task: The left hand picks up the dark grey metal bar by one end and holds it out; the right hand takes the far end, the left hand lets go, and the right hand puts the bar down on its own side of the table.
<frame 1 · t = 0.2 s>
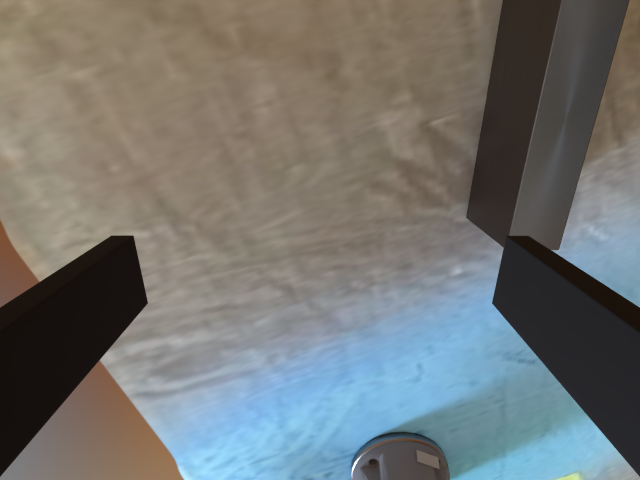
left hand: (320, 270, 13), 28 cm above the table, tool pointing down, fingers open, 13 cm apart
bar: (506, 116, 37), on the table
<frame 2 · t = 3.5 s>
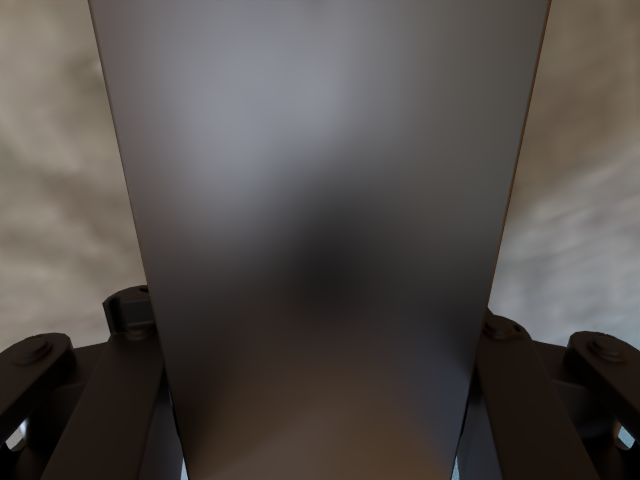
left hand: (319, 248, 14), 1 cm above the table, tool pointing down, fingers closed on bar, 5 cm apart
bar: (319, 40, 12), on the table, touching left hand
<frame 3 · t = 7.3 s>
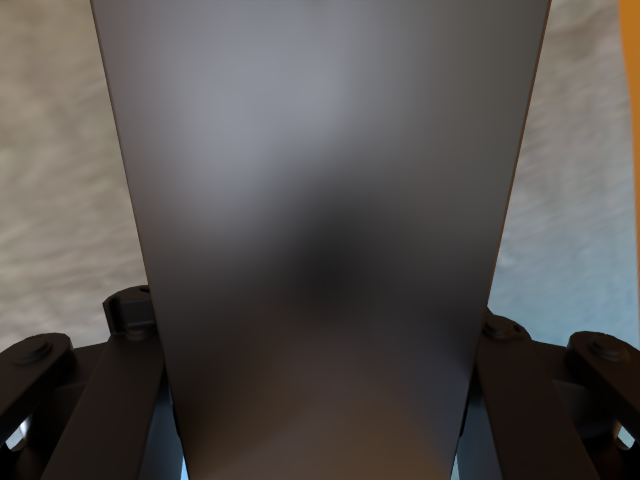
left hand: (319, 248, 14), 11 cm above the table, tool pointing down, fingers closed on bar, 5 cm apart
bar: (320, 39, 12), point 11 cm above the table, touching left hand, right hand
when the left hand's fingers open (11 cm above the table, at t = 8.2 s): bar stays where it is, held by the right hand.
when the right hand's fingers open (5 cm above the table, at t = 14.4 s): bar stays where it is, on the table.
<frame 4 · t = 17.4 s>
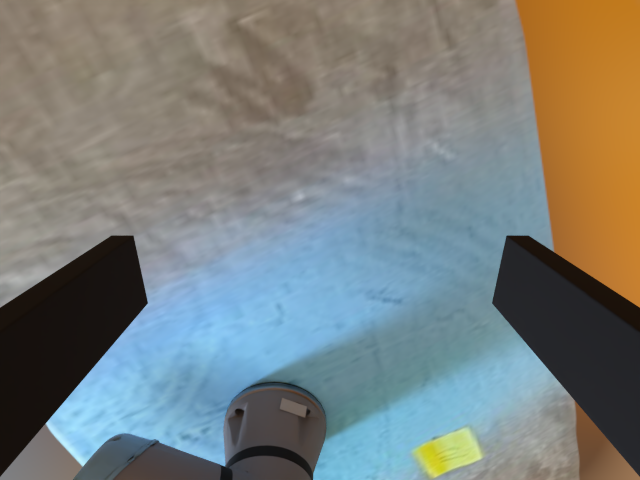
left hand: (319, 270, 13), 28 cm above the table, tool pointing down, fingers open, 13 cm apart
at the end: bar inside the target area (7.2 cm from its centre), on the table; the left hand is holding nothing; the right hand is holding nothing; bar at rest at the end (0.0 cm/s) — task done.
